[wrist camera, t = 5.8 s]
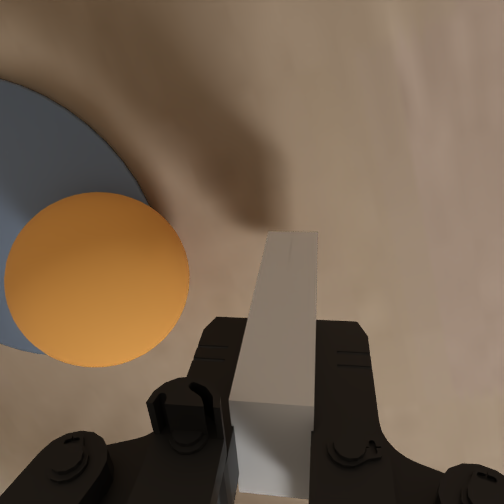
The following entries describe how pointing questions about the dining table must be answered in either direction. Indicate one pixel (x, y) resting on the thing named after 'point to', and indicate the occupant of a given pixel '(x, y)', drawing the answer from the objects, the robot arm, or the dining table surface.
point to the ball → (96, 279)
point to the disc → (46, 173)
